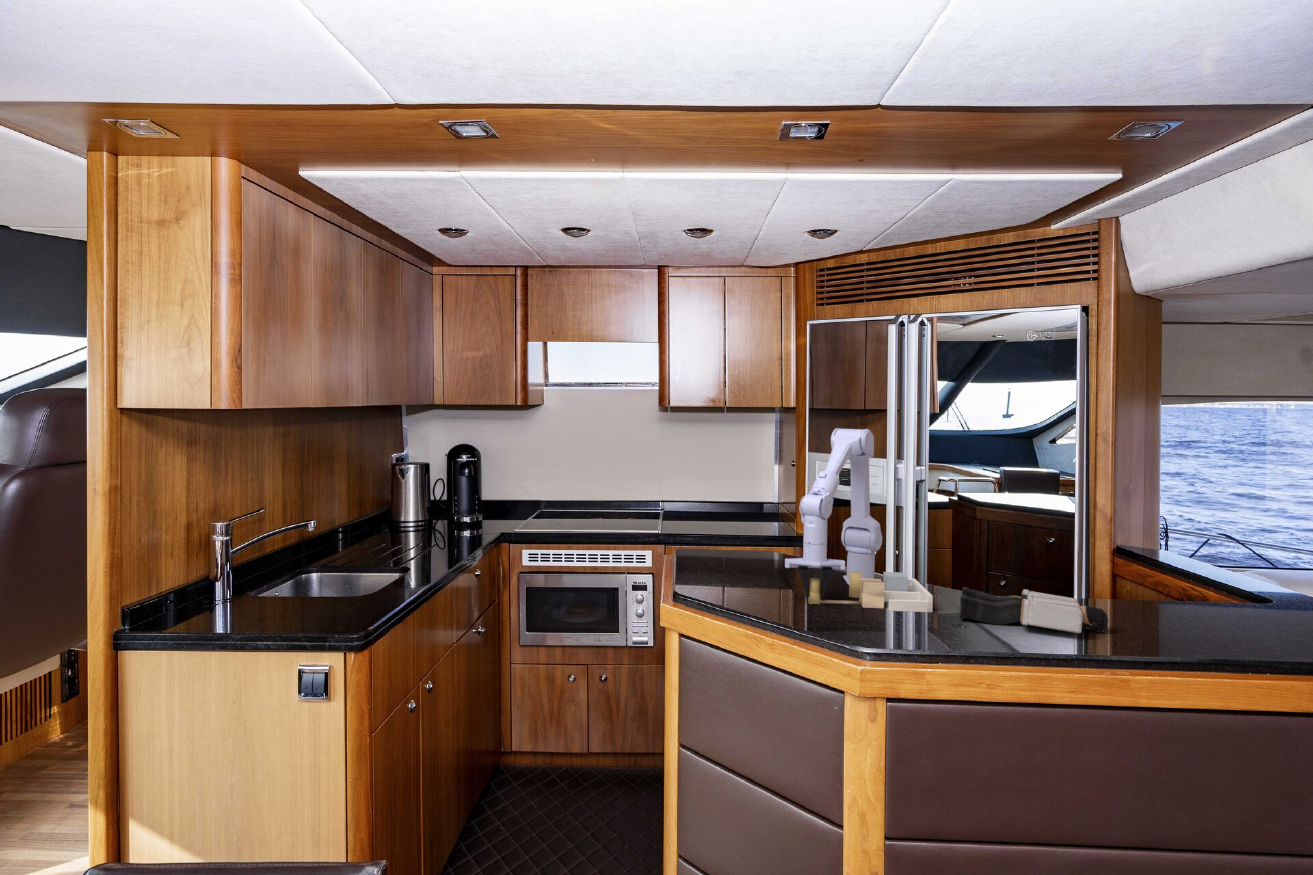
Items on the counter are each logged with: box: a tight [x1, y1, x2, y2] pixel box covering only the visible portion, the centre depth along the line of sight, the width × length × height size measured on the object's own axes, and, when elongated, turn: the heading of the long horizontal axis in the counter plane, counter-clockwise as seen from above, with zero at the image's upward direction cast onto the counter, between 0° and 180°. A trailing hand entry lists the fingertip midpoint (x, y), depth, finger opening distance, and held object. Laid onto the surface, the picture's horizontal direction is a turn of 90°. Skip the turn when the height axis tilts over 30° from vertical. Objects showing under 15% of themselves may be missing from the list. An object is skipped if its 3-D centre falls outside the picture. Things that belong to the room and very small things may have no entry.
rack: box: [884, 577, 934, 613], centre depth 183 cm, size 17×10×4 cm, turn 174°
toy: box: [959, 586, 1109, 634], centre depth 166 cm, size 19×7×30 cm
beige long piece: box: [807, 577, 885, 609], centre depth 181 cm, size 5×18×6 cm, turn 84°
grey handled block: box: [848, 571, 909, 599], centre depth 188 cm, size 5×14×6 cm, turn 84°
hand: (814, 596), depth 181 cm, fingers closed on beige long piece, 3 cm apart
